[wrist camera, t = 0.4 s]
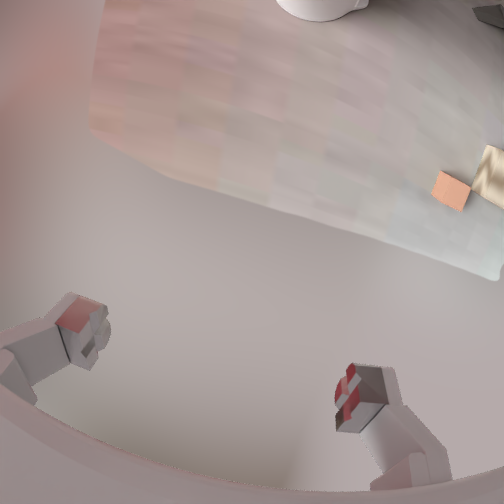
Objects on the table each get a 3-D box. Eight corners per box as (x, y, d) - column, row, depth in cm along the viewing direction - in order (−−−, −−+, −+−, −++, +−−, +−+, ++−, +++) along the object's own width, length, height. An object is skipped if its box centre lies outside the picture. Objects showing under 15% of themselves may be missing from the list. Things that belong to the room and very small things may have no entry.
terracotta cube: (440, 170, 47) (451, 177, 43) (459, 180, 47) (471, 187, 43) (430, 194, 49) (441, 202, 45) (449, 203, 49) (461, 212, 45)
